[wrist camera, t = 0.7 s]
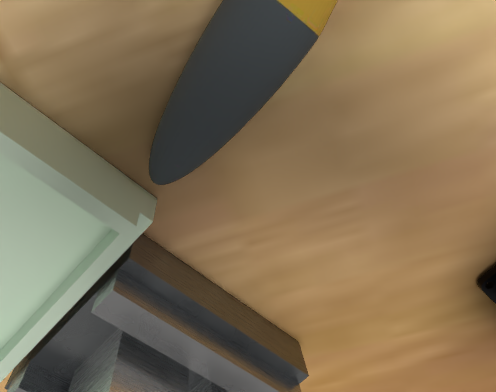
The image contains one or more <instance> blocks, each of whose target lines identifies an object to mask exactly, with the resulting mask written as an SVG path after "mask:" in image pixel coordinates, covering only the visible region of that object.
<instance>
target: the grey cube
mask: <svg viewBox="0 0 496 392" xmlns="http://www.w3.org/2000/svg"><path fill="white" fill-rule="evenodd" d="M189 392H229V391H227V390H225V389H224V388H222V387H220V386H218V385H217V384H215V383H213V382H211V381H210V380H208V379H206V378H203V379H202V380H201V381H200V382H199V383H198V384H197V385H195V386H194V387H193V388H192V389H191V390H190V391H189Z"/></svg>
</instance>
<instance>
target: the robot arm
mask: <svg viewBox="0 0 496 392" xmlns="http://www.w3.org/2000/svg"><path fill="white" fill-rule="evenodd" d="M487 283H488V284H487ZM477 285H478V287H479V288H480V289H481V290H482V291H483V292H484V293H485V294H486V295H487V296H488V297H489V298H490V299H491V300H492V301H493V302H494V303H495V304H496V266H494V267H493V268H492V269H490V270H489V271H488V272H487V273H485V274H484V275H483V276H481V277H480V278H479V280H478V282H477Z"/></svg>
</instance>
